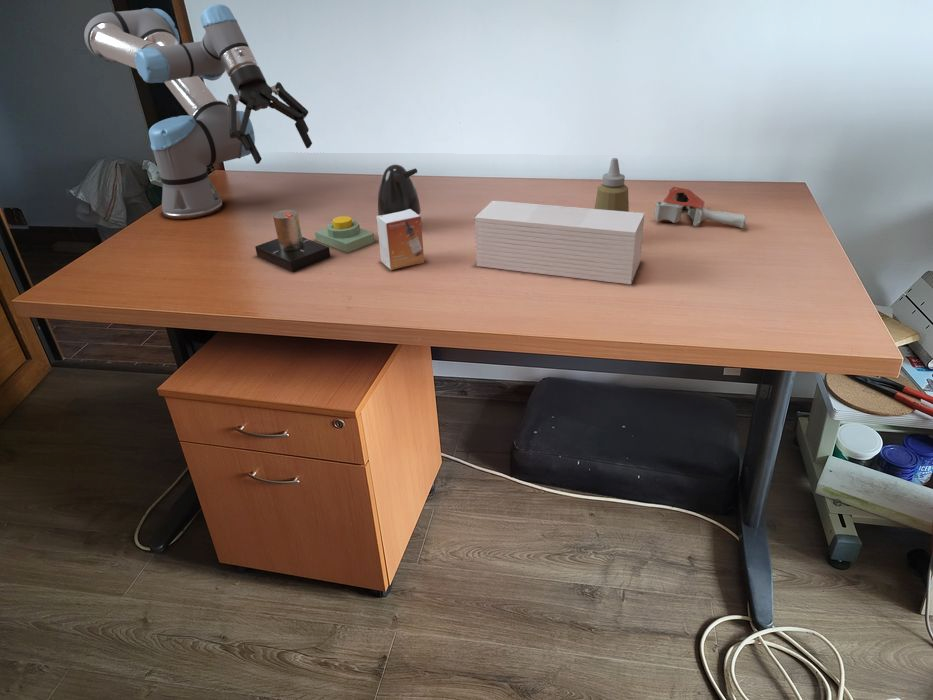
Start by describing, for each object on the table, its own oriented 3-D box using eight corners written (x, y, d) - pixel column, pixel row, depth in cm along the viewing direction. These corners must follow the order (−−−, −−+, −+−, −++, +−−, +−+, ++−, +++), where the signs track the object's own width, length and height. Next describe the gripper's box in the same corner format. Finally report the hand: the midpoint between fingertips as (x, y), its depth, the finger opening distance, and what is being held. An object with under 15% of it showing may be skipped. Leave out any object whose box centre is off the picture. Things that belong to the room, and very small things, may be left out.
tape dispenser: (749, 235, 152) (698, 203, 168) (755, 213, 149) (702, 182, 165) (682, 244, 147) (635, 210, 163) (686, 221, 144) (639, 189, 160)
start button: (329, 227, 154) (328, 220, 153) (344, 221, 157) (343, 214, 156) (341, 231, 152) (340, 224, 151) (356, 225, 154) (355, 218, 153)
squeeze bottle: (631, 235, 151) (638, 155, 142) (623, 248, 145) (629, 165, 136) (596, 231, 154) (601, 152, 145) (586, 243, 148) (590, 162, 139)
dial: (275, 247, 148) (268, 213, 144) (294, 240, 151) (288, 206, 147) (288, 252, 145) (281, 218, 141) (308, 245, 148) (302, 211, 144)
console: (257, 256, 151) (254, 245, 149) (294, 243, 157) (292, 232, 155) (292, 272, 142) (290, 261, 141) (330, 257, 148) (328, 246, 147)
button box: (316, 240, 157) (313, 224, 155) (343, 230, 162) (340, 214, 160) (347, 252, 150) (345, 236, 148) (375, 241, 155) (373, 225, 153)
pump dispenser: (416, 235, 157) (410, 171, 149) (374, 234, 159) (366, 171, 151) (427, 220, 165) (422, 158, 158) (387, 219, 167) (380, 158, 160)
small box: (390, 271, 140) (385, 223, 135) (380, 262, 145) (375, 215, 139) (425, 262, 143) (421, 215, 138) (414, 254, 148) (410, 208, 142)
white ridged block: (639, 263, 138) (644, 212, 133) (630, 284, 130) (635, 232, 124) (493, 247, 149) (492, 200, 143) (476, 266, 141) (474, 217, 135)
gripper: (195, 75, 150) (239, 162, 152) (294, 52, 163) (333, 133, 165) (191, 91, 157) (233, 174, 159) (286, 68, 169) (324, 146, 171)
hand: (284, 153), depth 162 cm, fingers open, 13 cm apart
